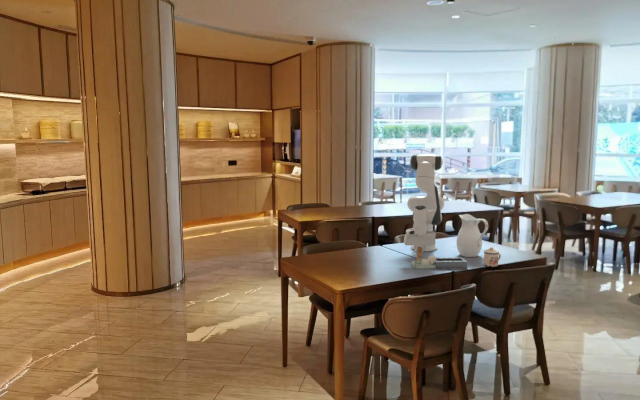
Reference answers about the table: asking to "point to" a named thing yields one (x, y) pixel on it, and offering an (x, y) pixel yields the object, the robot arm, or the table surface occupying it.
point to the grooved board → (450, 263)
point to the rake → (419, 254)
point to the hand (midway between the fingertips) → (419, 251)
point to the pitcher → (470, 236)
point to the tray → (419, 265)
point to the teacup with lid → (491, 257)
